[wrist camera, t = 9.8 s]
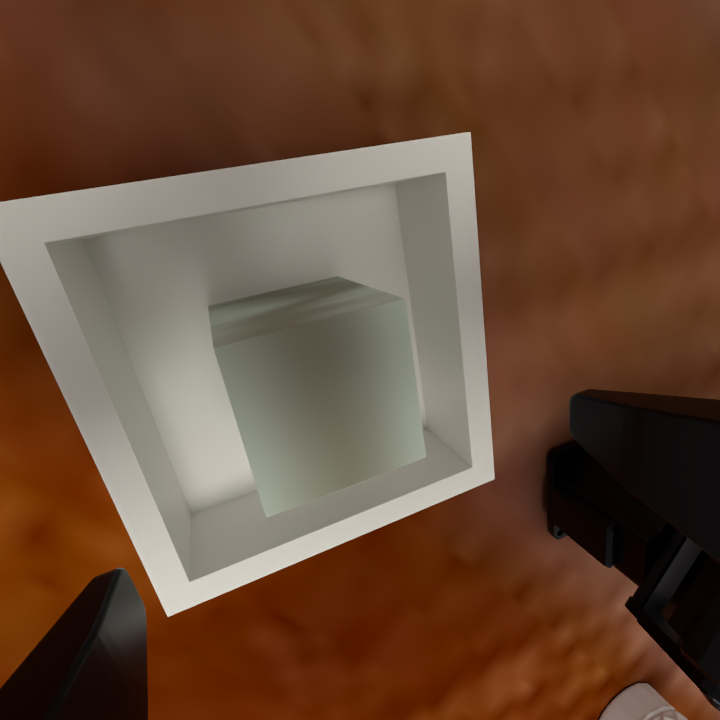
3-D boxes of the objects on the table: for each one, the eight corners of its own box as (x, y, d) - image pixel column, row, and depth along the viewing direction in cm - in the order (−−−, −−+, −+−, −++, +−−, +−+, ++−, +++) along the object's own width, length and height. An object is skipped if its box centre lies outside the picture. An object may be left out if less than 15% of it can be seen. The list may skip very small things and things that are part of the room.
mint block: (337, 276, 16) (405, 298, 11) (358, 390, 18) (426, 457, 13) (207, 306, 15) (213, 348, 10) (244, 426, 17) (266, 517, 12)
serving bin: (405, 155, 17) (470, 131, 13) (439, 432, 21) (494, 479, 17) (41, 213, 13) (-27, 206, 9) (174, 529, 18) (167, 617, 14)
